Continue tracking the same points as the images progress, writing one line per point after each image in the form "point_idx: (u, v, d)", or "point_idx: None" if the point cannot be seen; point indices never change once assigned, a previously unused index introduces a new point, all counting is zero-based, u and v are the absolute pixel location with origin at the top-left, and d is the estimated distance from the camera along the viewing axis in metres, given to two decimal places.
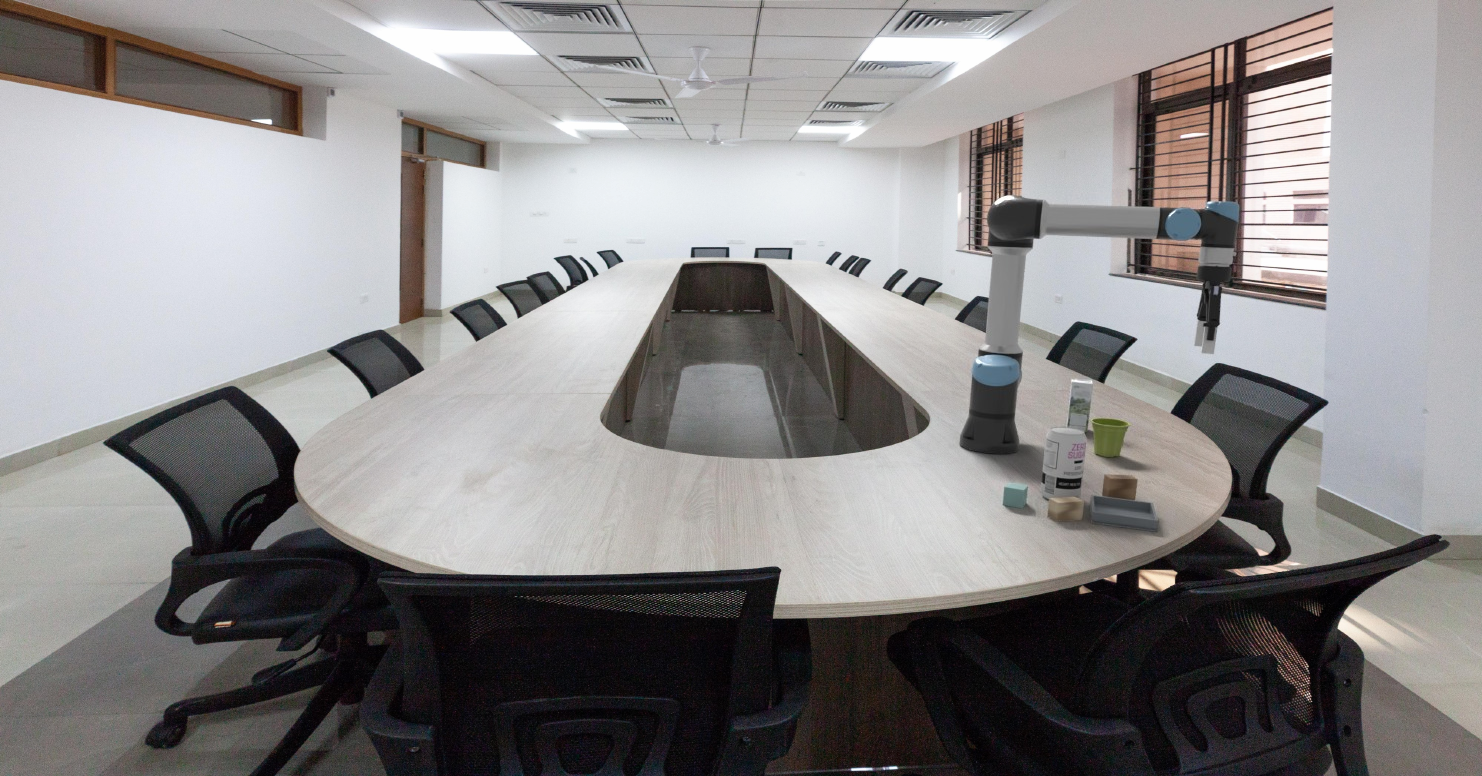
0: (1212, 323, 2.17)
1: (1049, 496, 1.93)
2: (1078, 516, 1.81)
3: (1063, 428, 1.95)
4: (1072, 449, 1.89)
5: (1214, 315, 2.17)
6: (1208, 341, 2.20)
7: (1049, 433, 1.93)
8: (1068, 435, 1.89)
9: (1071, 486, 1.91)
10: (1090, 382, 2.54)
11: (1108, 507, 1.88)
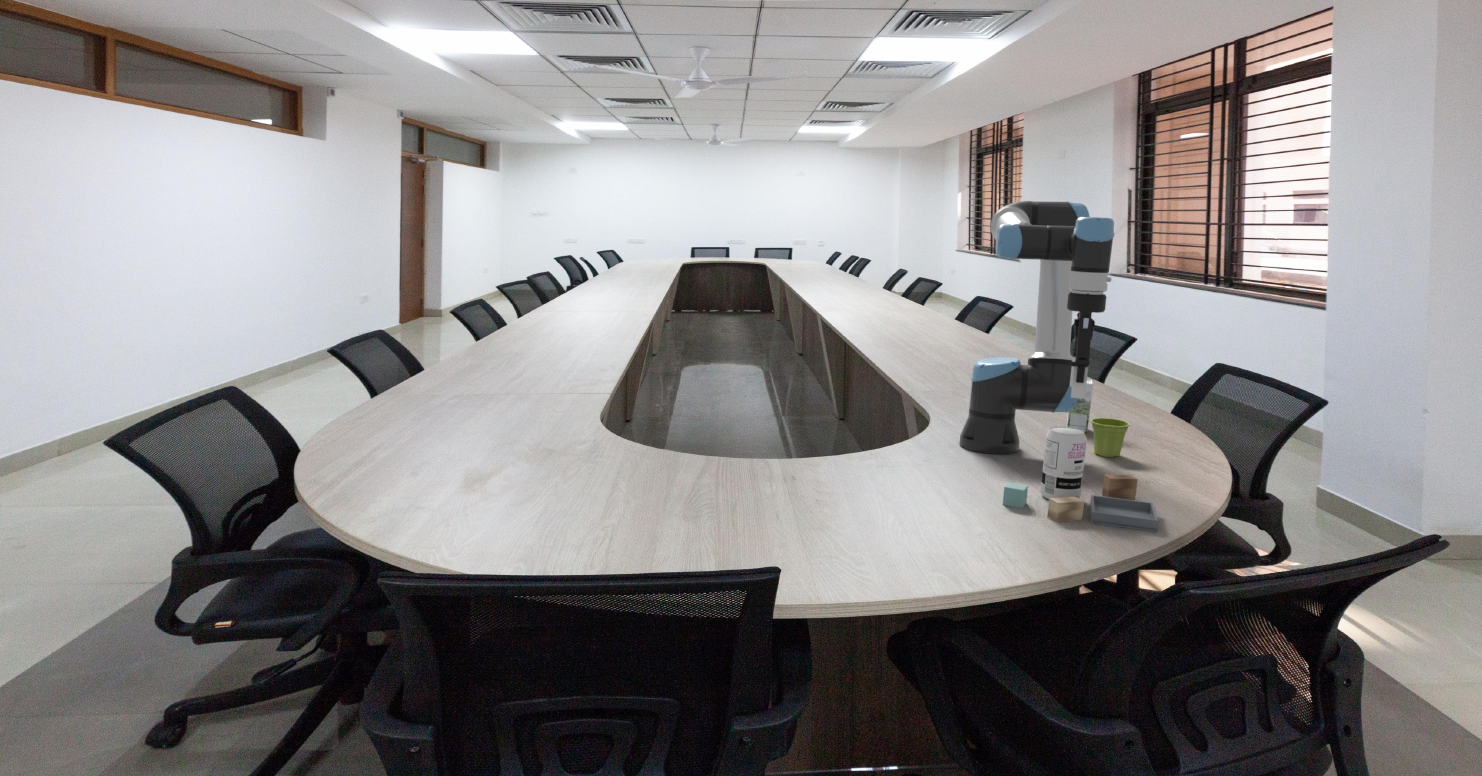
0: (1080, 362, 1.81)
1: (1049, 496, 1.93)
2: (1078, 516, 1.81)
3: (1063, 428, 1.95)
4: (1072, 449, 1.89)
5: (1083, 353, 1.82)
6: (1078, 383, 1.85)
7: (1049, 433, 1.93)
8: (1068, 435, 1.89)
9: (1071, 486, 1.91)
10: (1090, 382, 2.54)
11: (1108, 507, 1.88)
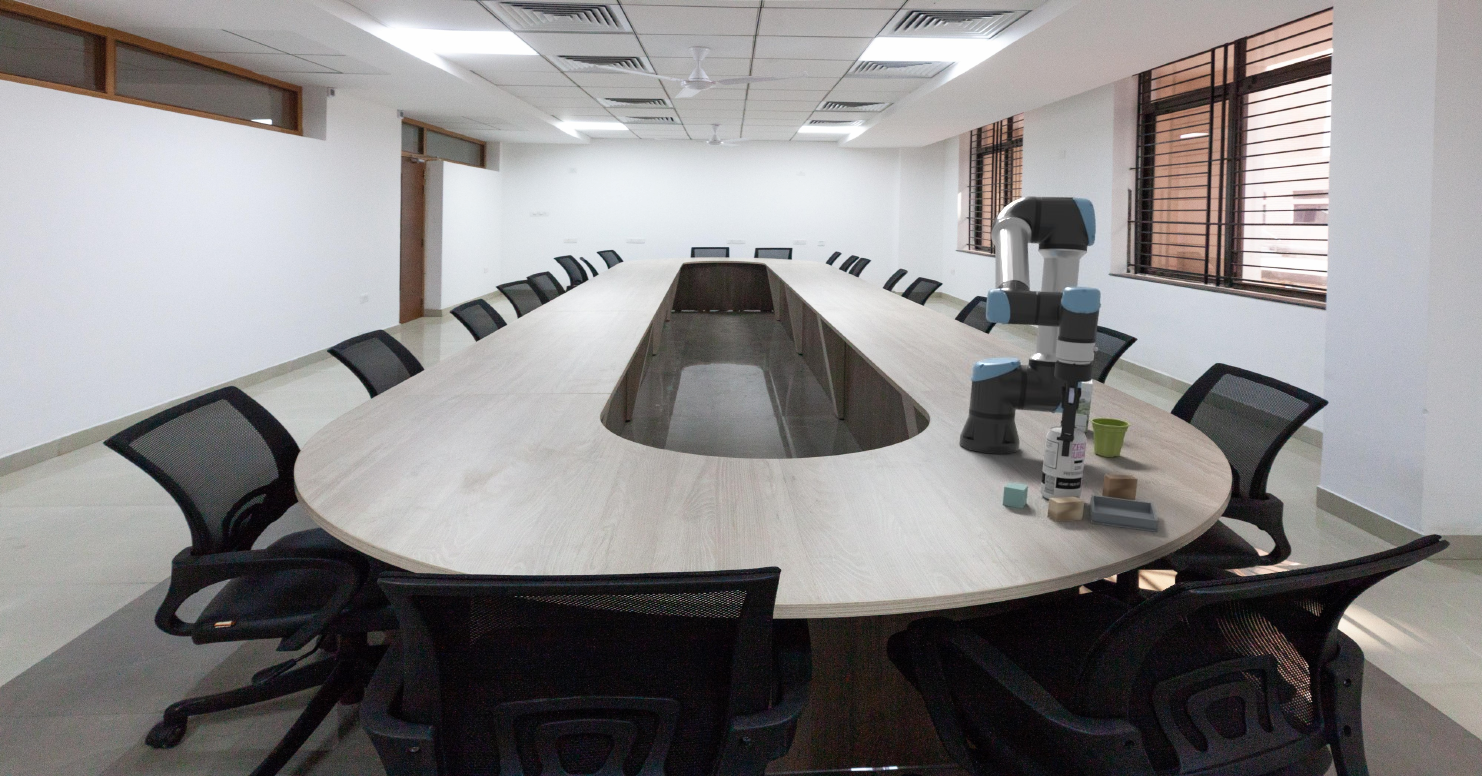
0: (1065, 438, 1.86)
1: (1049, 496, 1.93)
2: (1078, 516, 1.81)
3: None
4: (1072, 449, 1.89)
5: (1068, 429, 1.85)
6: (1063, 456, 1.89)
7: (1049, 433, 1.93)
8: None
9: (1071, 486, 1.91)
10: (1090, 382, 2.54)
11: (1108, 507, 1.88)
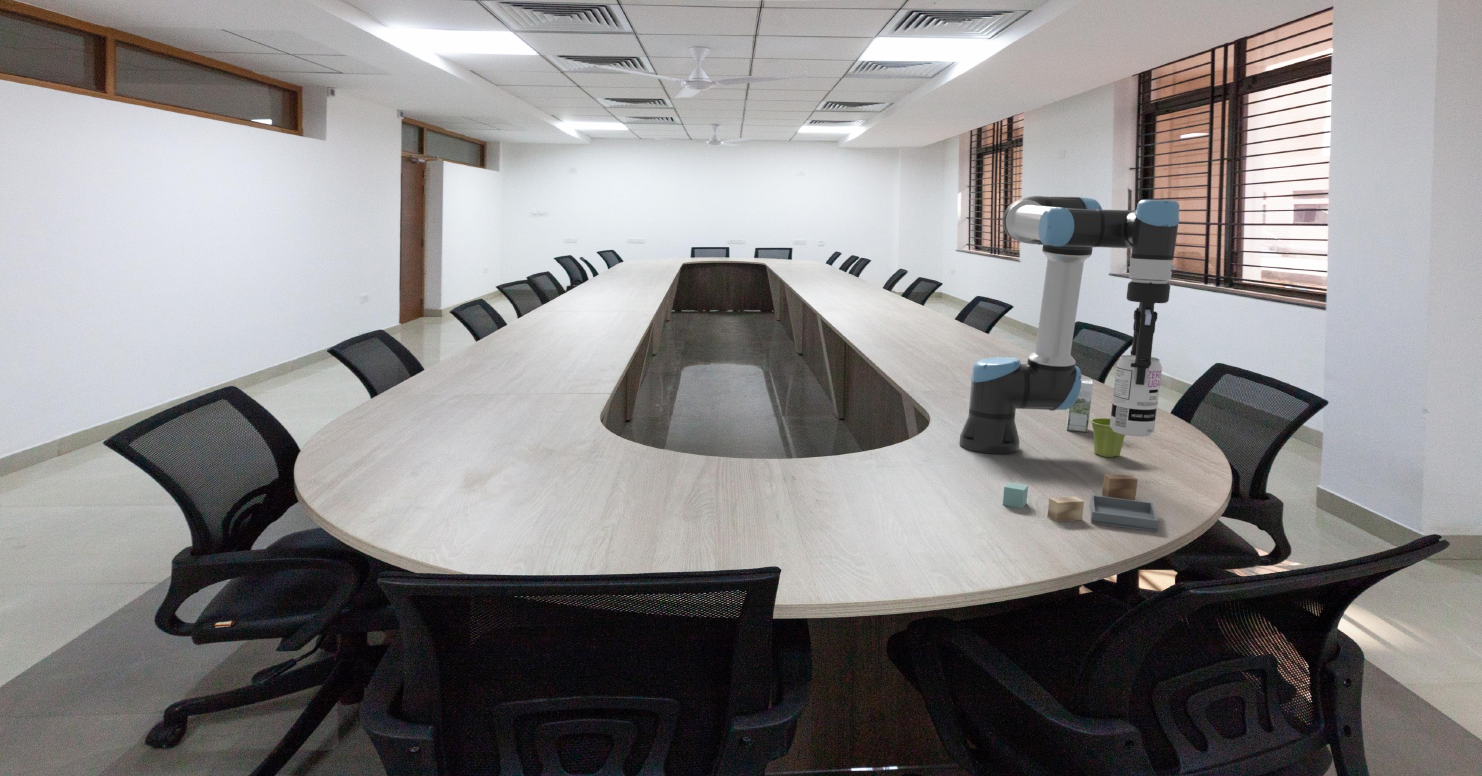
0: (1141, 364, 1.70)
1: (1120, 430, 1.77)
2: (1078, 516, 1.81)
3: (1135, 357, 1.79)
4: None
5: (1144, 353, 1.70)
6: (1138, 385, 1.74)
7: (1120, 361, 1.77)
8: None
9: (1145, 418, 1.75)
10: (1090, 382, 2.54)
11: (1108, 507, 1.88)
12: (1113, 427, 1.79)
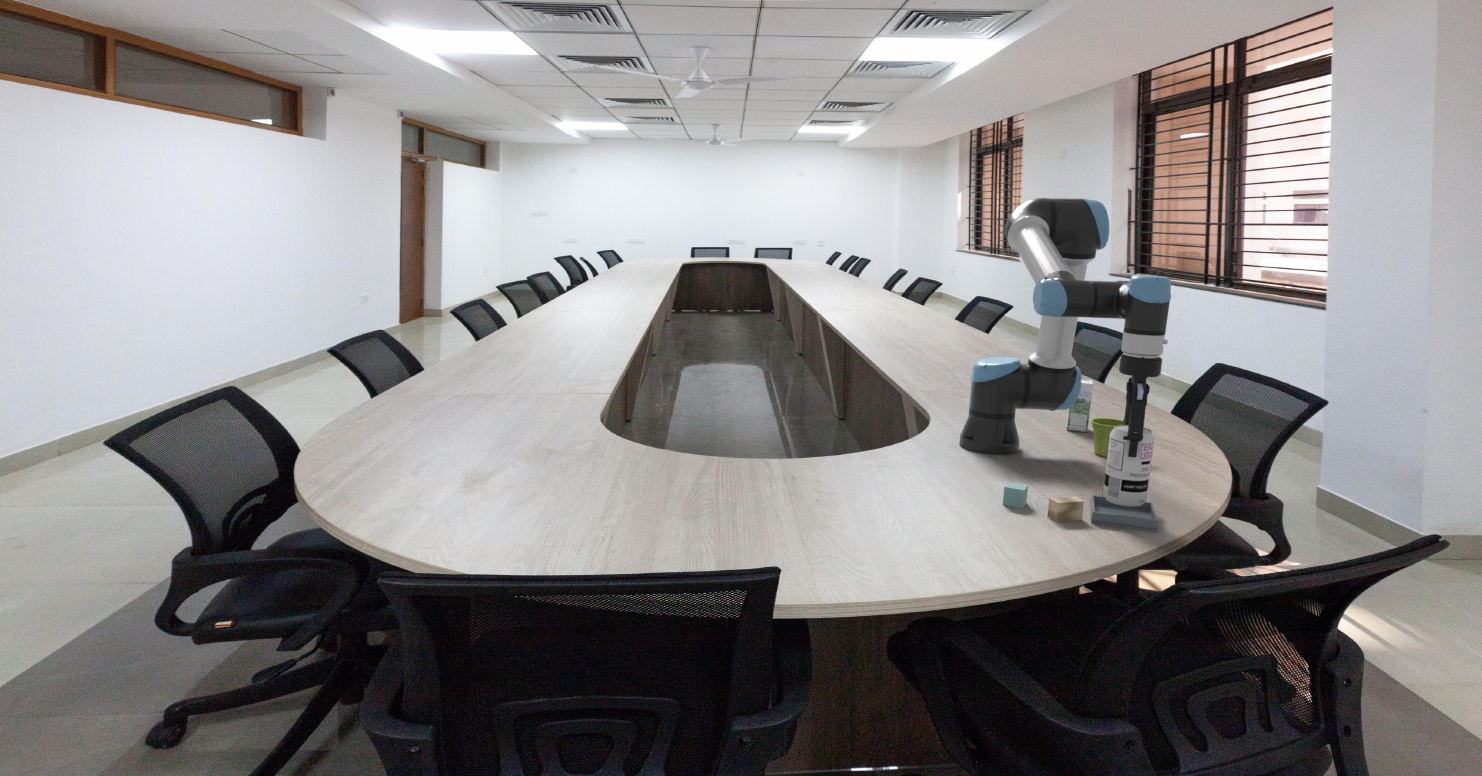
0: (1133, 438, 1.73)
1: (1113, 500, 1.80)
2: (1078, 516, 1.81)
3: (1127, 427, 1.82)
4: (1140, 449, 1.76)
5: (1136, 427, 1.72)
6: (1130, 457, 1.76)
7: (1113, 432, 1.80)
8: None
9: (1138, 489, 1.78)
10: (1090, 382, 2.54)
11: (1108, 507, 1.88)
12: (1106, 496, 1.82)
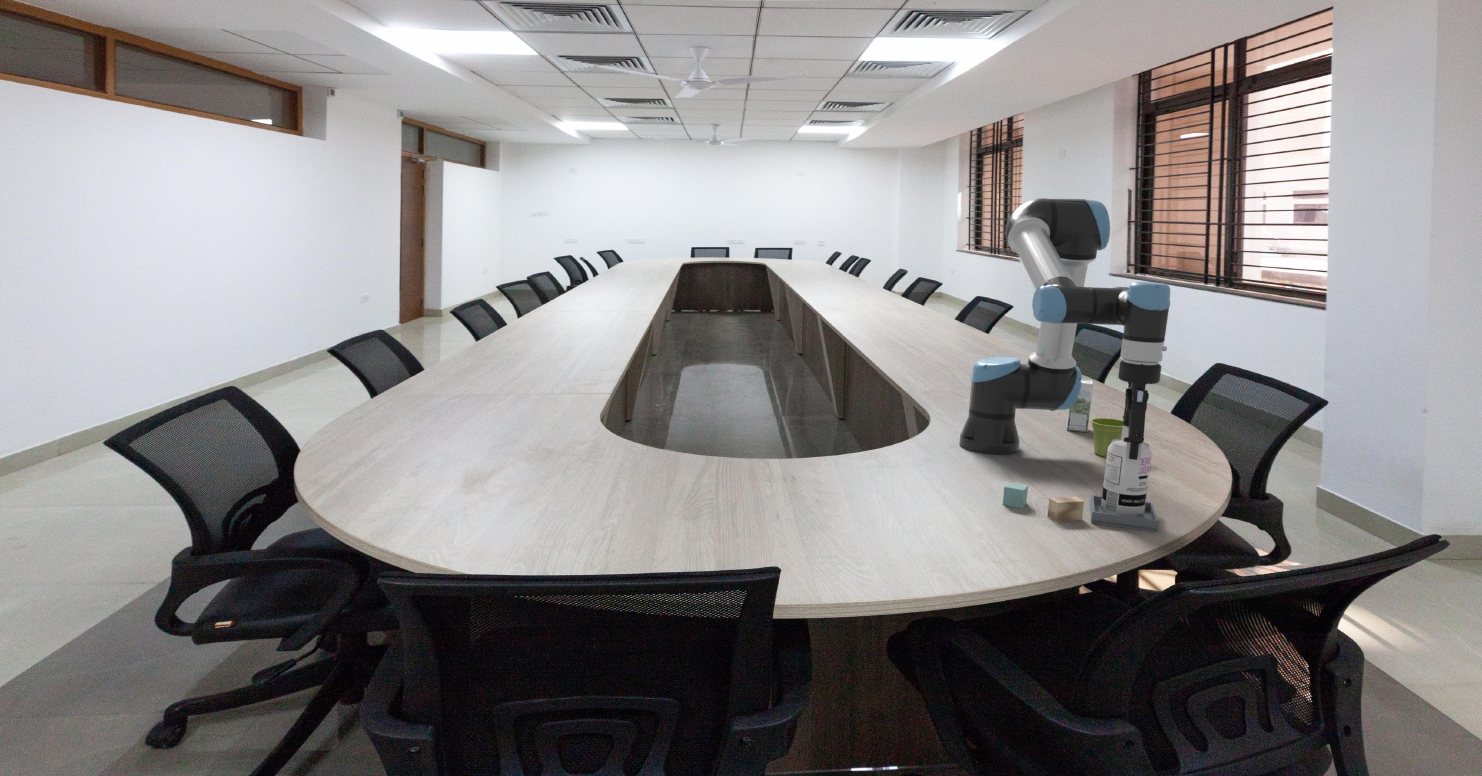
0: (1134, 439, 1.71)
1: (1111, 513, 1.81)
2: (1078, 516, 1.81)
3: None
4: None
5: (1137, 429, 1.71)
6: (1131, 460, 1.74)
7: (1111, 446, 1.81)
8: None
9: (1135, 503, 1.79)
10: (1090, 382, 2.54)
11: None
12: (1104, 510, 1.83)
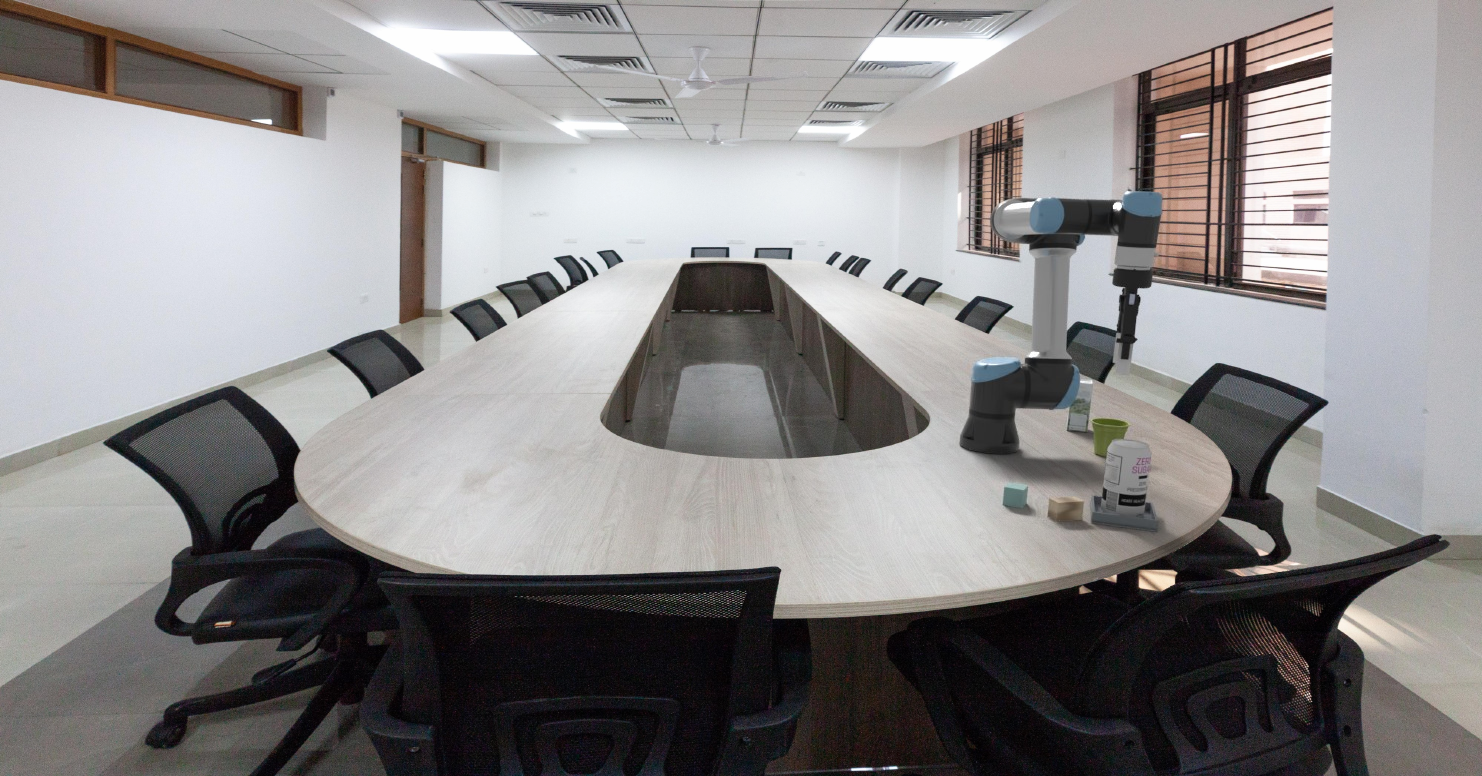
0: (1126, 339, 1.80)
1: (1111, 513, 1.81)
2: (1078, 516, 1.81)
3: (1125, 441, 1.83)
4: (1137, 464, 1.77)
5: (1128, 329, 1.80)
6: (1123, 360, 1.84)
7: (1111, 446, 1.81)
8: (1132, 449, 1.77)
9: (1135, 503, 1.79)
10: (1090, 382, 2.54)
11: None
12: (1104, 510, 1.83)
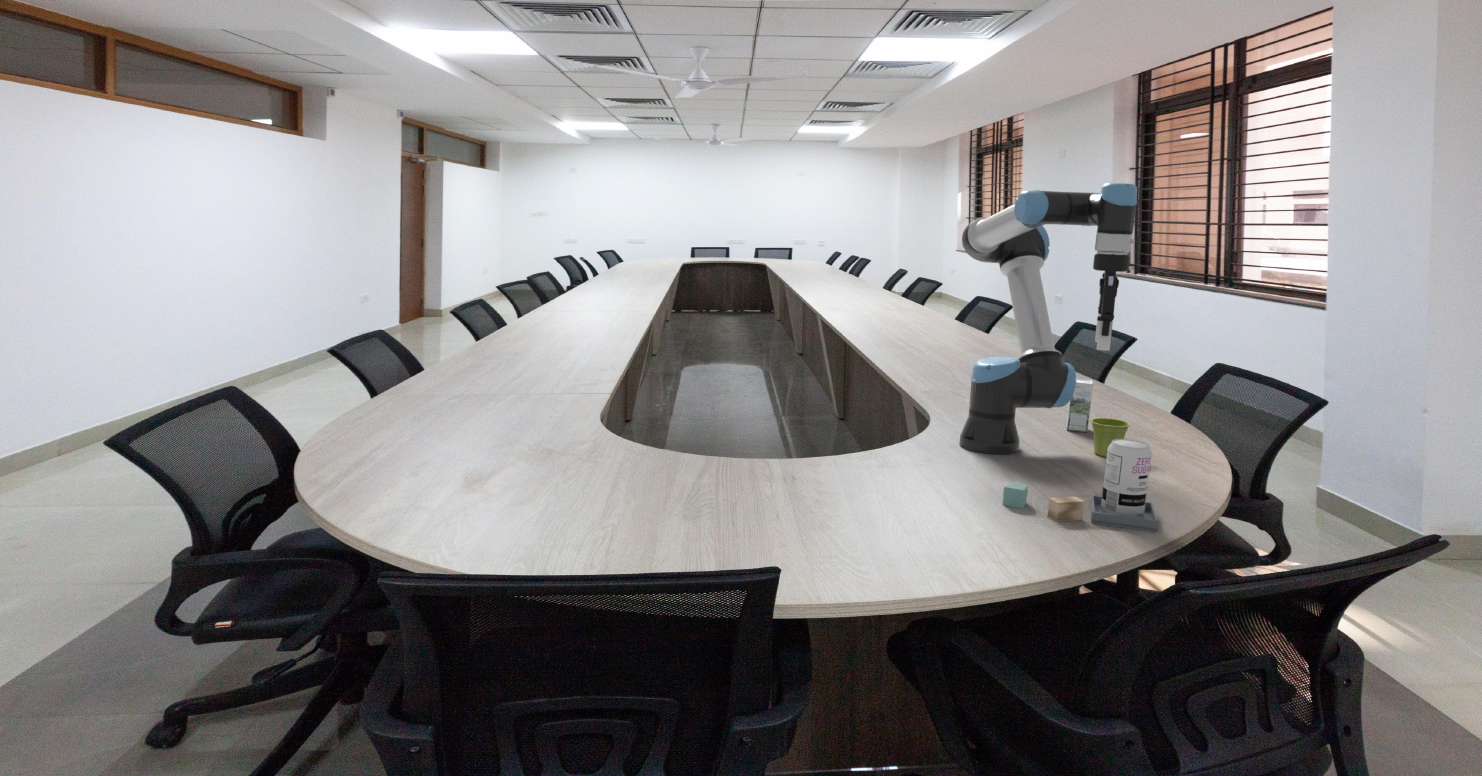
0: (1106, 317, 1.97)
1: (1111, 513, 1.81)
2: (1078, 516, 1.81)
3: (1125, 441, 1.83)
4: (1137, 464, 1.77)
5: (1108, 308, 1.98)
6: (1103, 336, 2.01)
7: (1111, 446, 1.81)
8: (1132, 449, 1.77)
9: (1135, 503, 1.79)
10: (1090, 382, 2.54)
11: None
12: (1104, 510, 1.83)
